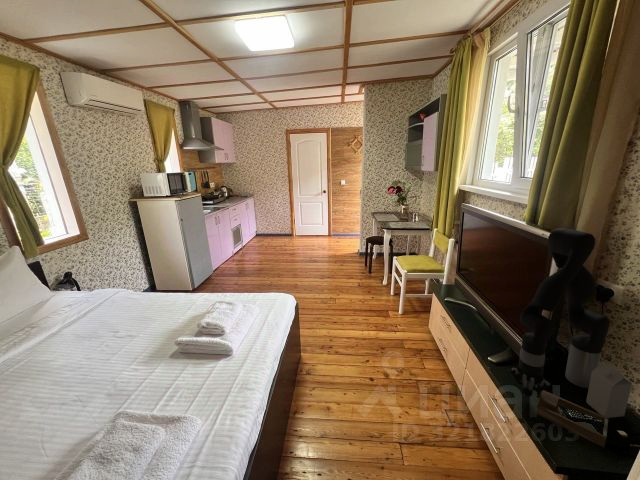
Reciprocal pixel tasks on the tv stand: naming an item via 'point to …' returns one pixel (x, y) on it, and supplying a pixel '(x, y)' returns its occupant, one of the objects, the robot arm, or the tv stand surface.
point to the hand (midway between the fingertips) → (527, 394)
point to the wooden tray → (576, 427)
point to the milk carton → (608, 391)
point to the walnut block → (548, 401)
